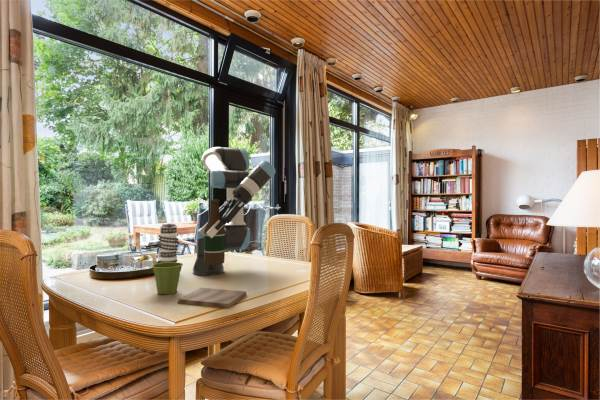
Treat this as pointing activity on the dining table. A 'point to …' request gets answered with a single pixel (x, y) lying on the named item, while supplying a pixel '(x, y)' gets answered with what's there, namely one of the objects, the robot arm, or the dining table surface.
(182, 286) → the dining table surface
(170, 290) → the plant pot
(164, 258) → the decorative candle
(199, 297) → the walnut board
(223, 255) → the beer bottle
